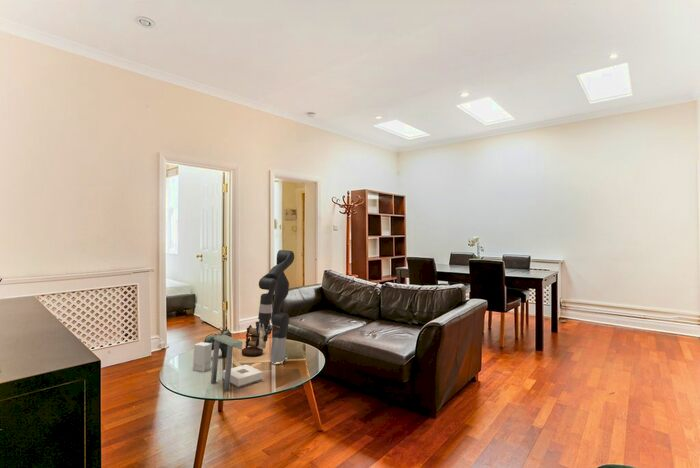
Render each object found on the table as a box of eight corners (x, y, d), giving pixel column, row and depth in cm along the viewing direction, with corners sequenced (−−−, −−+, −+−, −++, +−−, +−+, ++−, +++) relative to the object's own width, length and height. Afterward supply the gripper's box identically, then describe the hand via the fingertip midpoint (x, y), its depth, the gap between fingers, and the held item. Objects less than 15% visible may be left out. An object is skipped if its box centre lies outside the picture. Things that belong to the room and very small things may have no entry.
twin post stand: (221, 379, 196) (225, 334, 197) (238, 388, 186) (242, 341, 187) (209, 382, 191) (213, 336, 192) (226, 392, 180) (231, 343, 181)
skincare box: (210, 368, 211) (213, 343, 211) (203, 372, 204) (205, 346, 205) (199, 366, 213) (201, 341, 213) (191, 370, 206) (194, 344, 207)
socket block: (245, 372, 209) (246, 364, 209) (262, 380, 199) (262, 371, 199) (221, 379, 196) (222, 370, 196) (237, 388, 186) (238, 378, 186)
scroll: (266, 352, 250) (268, 324, 251) (257, 358, 236) (260, 329, 237) (246, 349, 253) (249, 322, 253) (237, 355, 238) (240, 326, 239)
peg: (262, 346, 207) (264, 326, 207) (266, 348, 204) (268, 327, 205) (257, 347, 203) (259, 327, 204) (261, 349, 201) (263, 328, 202)
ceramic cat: (226, 354, 240) (229, 325, 240) (231, 356, 235) (234, 327, 236) (198, 359, 224) (201, 329, 225) (203, 362, 220) (206, 331, 221)
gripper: (278, 313, 204) (275, 342, 203) (262, 309, 212) (260, 337, 211) (267, 314, 198) (265, 344, 197) (252, 310, 206) (250, 338, 205)
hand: (262, 340), depth 204 cm, fingers closed on peg, 4 cm apart
